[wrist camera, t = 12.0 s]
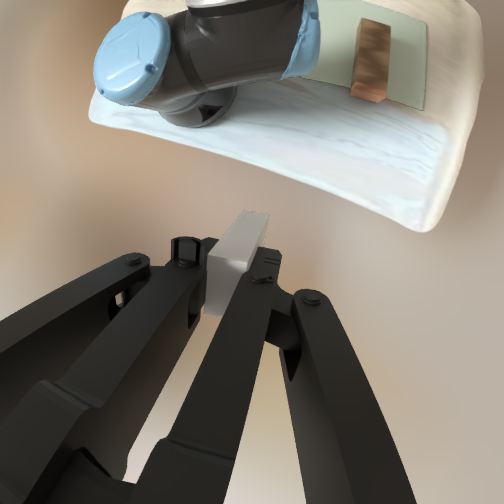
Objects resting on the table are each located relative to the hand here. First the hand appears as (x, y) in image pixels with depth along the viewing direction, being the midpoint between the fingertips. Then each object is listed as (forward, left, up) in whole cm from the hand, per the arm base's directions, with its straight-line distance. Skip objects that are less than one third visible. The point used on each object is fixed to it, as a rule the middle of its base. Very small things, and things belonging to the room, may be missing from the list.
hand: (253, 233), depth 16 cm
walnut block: (+11, +17, -29) cm, 35 cm away
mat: (+11, +29, -32) cm, 44 cm away
